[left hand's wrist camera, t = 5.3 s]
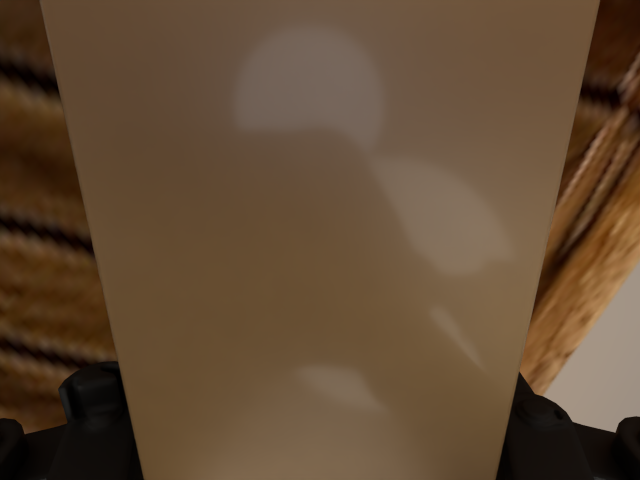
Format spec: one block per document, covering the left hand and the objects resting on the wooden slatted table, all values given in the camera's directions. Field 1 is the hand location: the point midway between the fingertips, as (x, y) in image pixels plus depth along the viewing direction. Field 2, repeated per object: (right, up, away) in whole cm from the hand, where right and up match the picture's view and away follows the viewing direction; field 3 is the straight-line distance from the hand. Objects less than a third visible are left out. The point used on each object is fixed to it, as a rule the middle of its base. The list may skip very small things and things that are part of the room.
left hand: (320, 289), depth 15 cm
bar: (0, +7, -2) cm, 7 cm away
